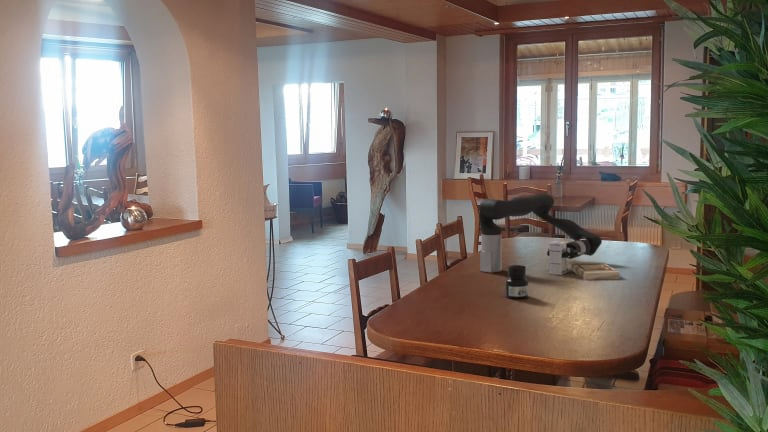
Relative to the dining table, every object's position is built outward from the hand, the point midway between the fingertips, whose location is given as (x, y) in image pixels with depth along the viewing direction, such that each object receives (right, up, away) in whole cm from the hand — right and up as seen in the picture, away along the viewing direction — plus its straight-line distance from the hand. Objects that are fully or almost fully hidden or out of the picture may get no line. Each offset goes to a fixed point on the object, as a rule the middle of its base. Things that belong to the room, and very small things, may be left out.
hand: (555, 254), depth 314 cm
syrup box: (+2, -9, +3) cm, 9 cm away
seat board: (+17, -9, 0) cm, 19 cm away
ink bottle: (-25, -15, -38) cm, 48 cm away
